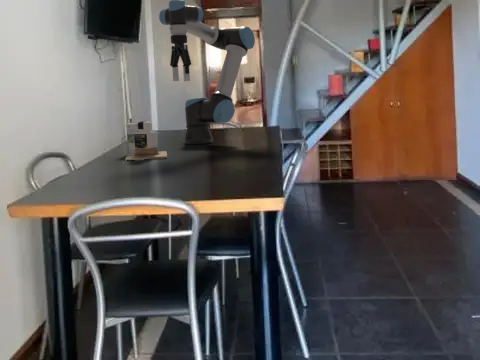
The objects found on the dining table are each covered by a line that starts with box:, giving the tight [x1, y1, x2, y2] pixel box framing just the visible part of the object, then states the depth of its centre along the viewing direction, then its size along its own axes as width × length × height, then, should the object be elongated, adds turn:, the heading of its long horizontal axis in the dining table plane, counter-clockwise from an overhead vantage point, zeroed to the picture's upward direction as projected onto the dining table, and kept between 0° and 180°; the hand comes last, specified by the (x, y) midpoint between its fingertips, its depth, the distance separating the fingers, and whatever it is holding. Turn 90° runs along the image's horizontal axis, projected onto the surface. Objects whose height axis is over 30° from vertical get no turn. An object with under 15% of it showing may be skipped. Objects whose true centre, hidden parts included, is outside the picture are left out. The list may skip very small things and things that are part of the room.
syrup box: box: [126, 122, 139, 153], centre depth 289 cm, size 6×6×14 cm
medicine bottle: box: [134, 120, 158, 149], centre depth 275 cm, size 7×7×12 cm
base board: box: [125, 146, 168, 162], centre depth 276 cm, size 18×18×4 cm
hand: (181, 81), depth 289 cm, fingers open, 13 cm apart
